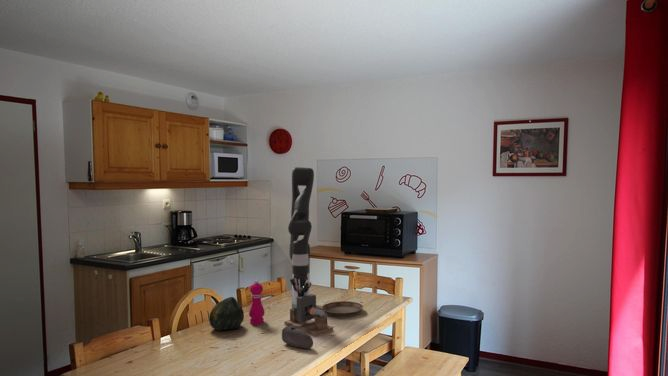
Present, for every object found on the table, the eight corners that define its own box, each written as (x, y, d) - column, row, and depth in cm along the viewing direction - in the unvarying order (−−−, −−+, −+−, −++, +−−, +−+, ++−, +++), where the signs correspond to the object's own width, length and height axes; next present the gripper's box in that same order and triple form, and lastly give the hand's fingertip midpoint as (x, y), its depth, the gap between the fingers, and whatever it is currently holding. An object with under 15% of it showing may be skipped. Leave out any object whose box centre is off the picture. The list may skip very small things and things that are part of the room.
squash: (201, 315, 201) (212, 294, 194) (229, 309, 212) (241, 289, 205) (212, 341, 193) (225, 321, 187) (241, 334, 204) (254, 314, 197)
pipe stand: (284, 324, 203) (284, 309, 203) (301, 319, 210) (300, 305, 210) (316, 336, 188) (316, 319, 188) (333, 330, 195) (333, 314, 194)
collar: (296, 320, 198) (296, 297, 197) (311, 316, 204) (311, 293, 204) (301, 322, 196) (300, 298, 195) (316, 317, 202) (316, 295, 202)
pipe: (291, 310, 205) (291, 302, 205) (296, 308, 207) (296, 301, 207) (320, 319, 191) (320, 311, 190) (326, 317, 193) (325, 309, 193)
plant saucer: (318, 318, 213) (318, 311, 213) (326, 306, 233) (326, 300, 233) (360, 320, 209) (360, 313, 209) (365, 308, 230) (365, 301, 230)
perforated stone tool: (317, 348, 174) (316, 331, 174) (308, 353, 170) (307, 335, 170) (289, 340, 183) (289, 324, 183) (280, 344, 179) (280, 327, 179)
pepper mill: (261, 325, 203) (260, 282, 203) (246, 324, 204) (246, 281, 204) (266, 320, 210) (266, 278, 210) (252, 319, 211) (252, 278, 211)
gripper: (285, 262, 204) (285, 300, 204) (303, 266, 195) (303, 305, 195) (297, 260, 209) (298, 297, 210) (316, 264, 200) (316, 302, 200)
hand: (300, 301), depth 202 cm, fingers closed
